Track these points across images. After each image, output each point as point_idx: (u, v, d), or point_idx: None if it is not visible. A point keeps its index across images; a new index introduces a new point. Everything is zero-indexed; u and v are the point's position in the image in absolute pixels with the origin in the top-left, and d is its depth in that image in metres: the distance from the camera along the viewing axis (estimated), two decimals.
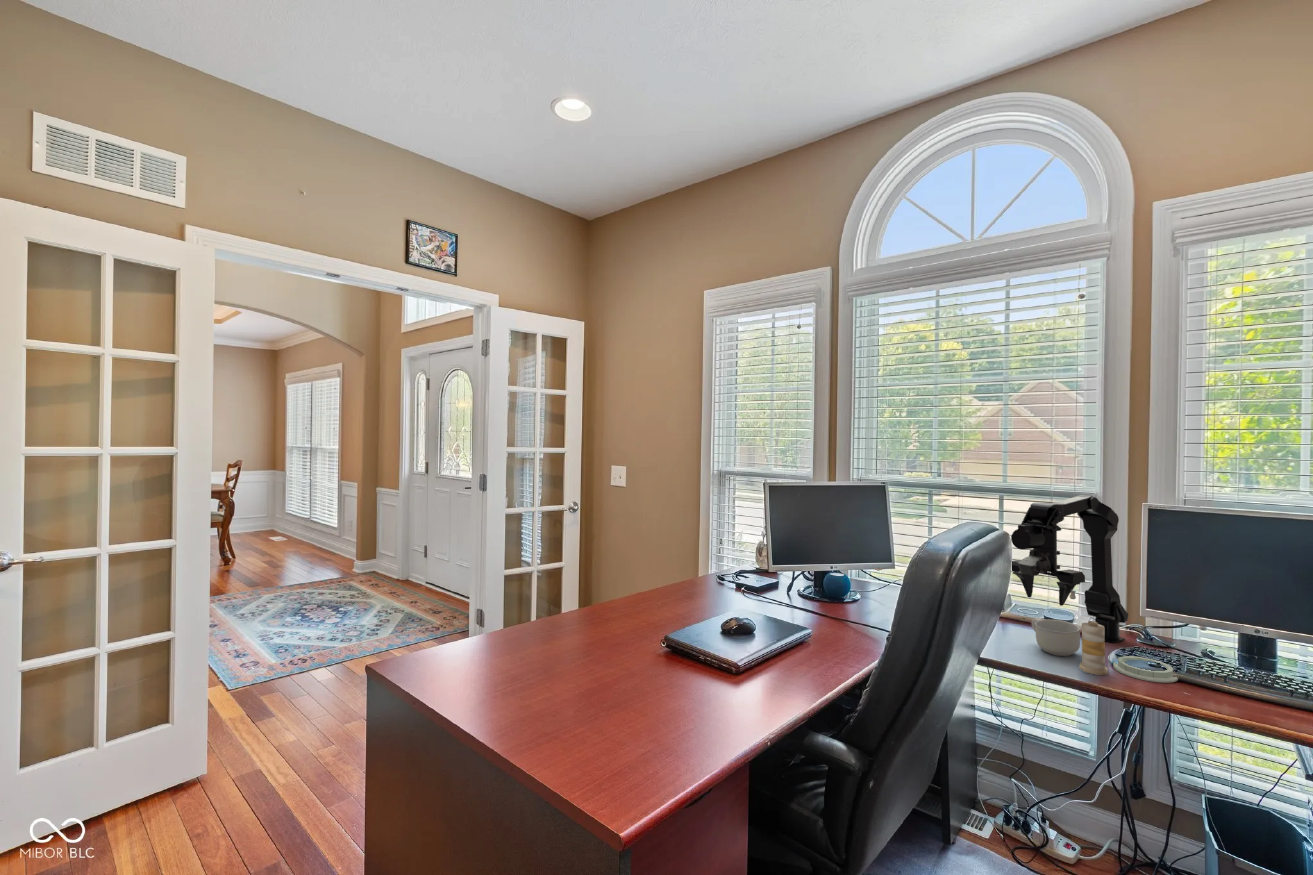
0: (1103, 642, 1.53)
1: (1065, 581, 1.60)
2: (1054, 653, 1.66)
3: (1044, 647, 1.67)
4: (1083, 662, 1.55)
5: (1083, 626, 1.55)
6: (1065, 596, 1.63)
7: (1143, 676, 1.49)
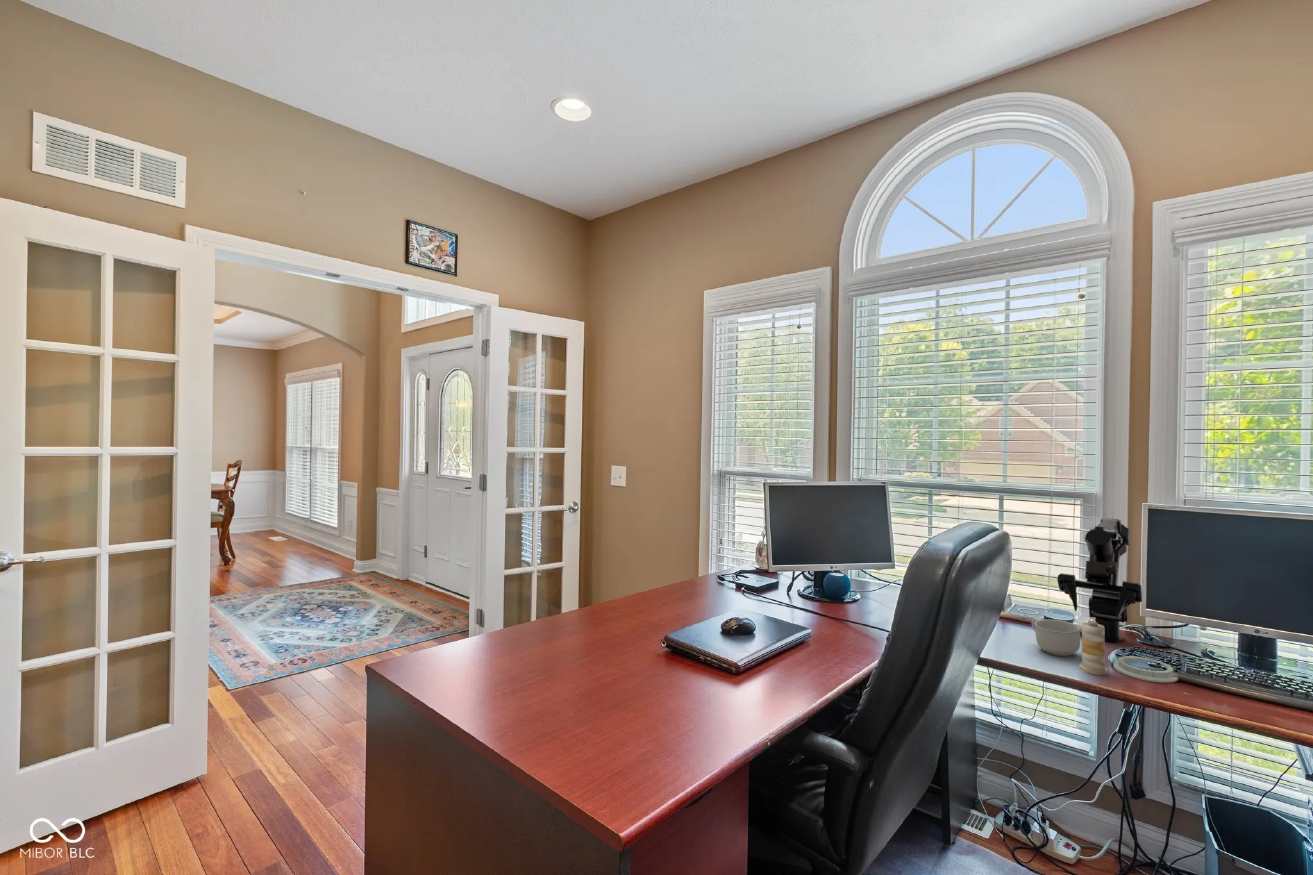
0: (1103, 642, 1.53)
1: (1132, 588, 1.58)
2: (1054, 653, 1.66)
3: (1044, 647, 1.67)
4: (1083, 662, 1.55)
5: (1083, 626, 1.55)
6: (1122, 609, 1.58)
7: (1143, 676, 1.49)
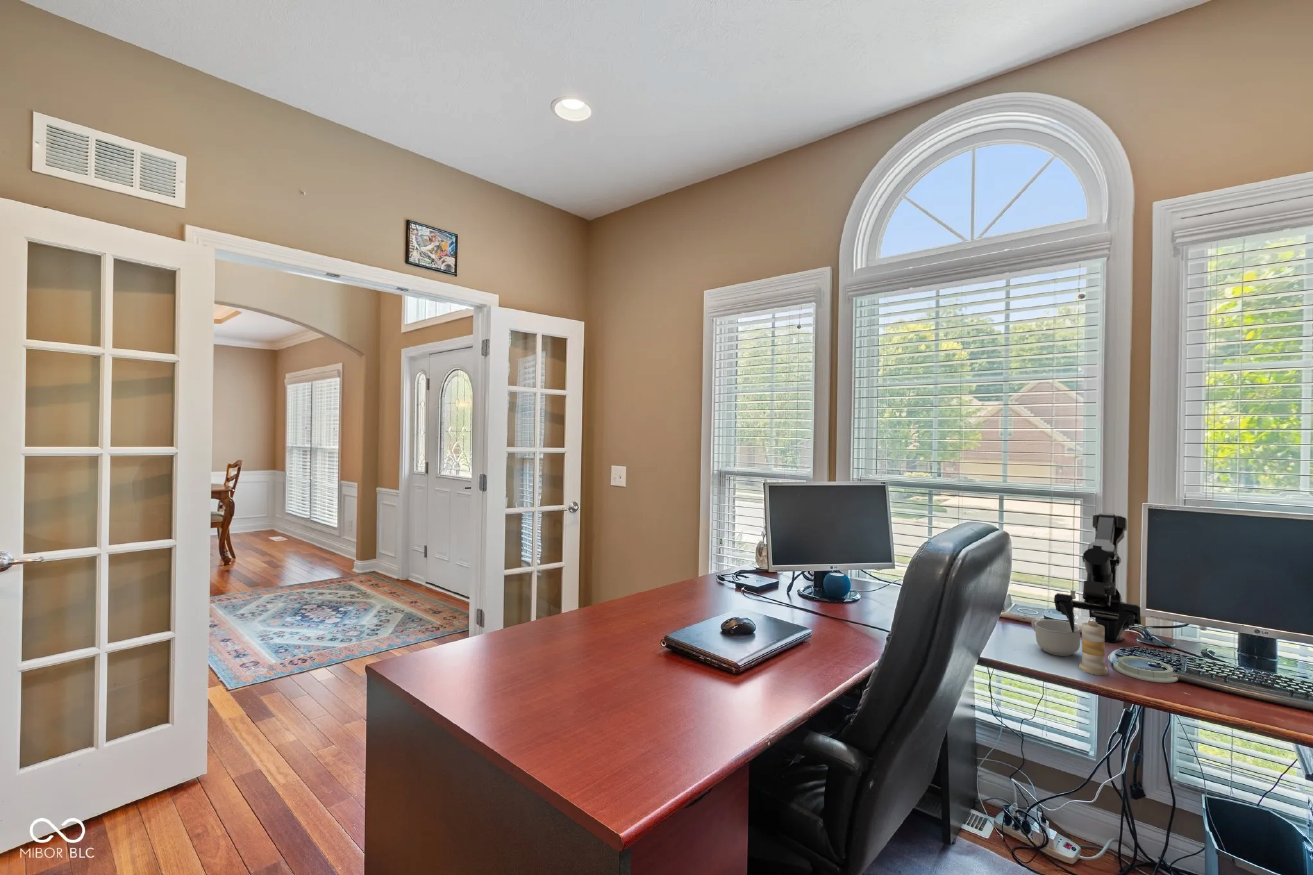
0: (1103, 642, 1.53)
1: (1131, 609, 1.53)
2: (1054, 653, 1.66)
3: (1044, 647, 1.67)
4: (1083, 662, 1.55)
5: (1083, 626, 1.55)
6: (1121, 631, 1.53)
7: (1143, 676, 1.49)
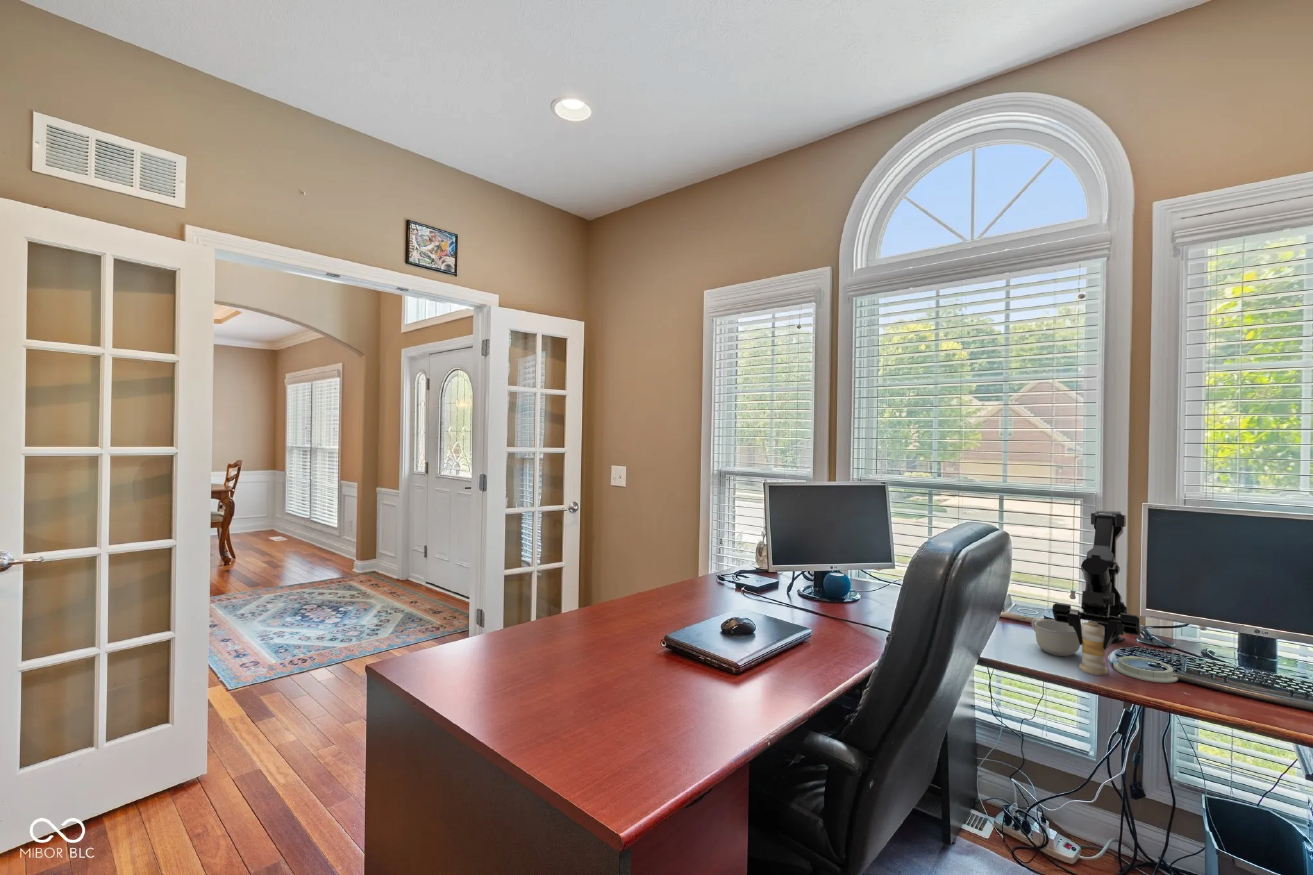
0: (1103, 642, 1.53)
1: (1131, 620, 1.51)
2: (1054, 653, 1.66)
3: (1044, 647, 1.67)
4: (1083, 662, 1.55)
5: (1083, 626, 1.55)
6: (1110, 640, 1.53)
7: (1143, 676, 1.49)
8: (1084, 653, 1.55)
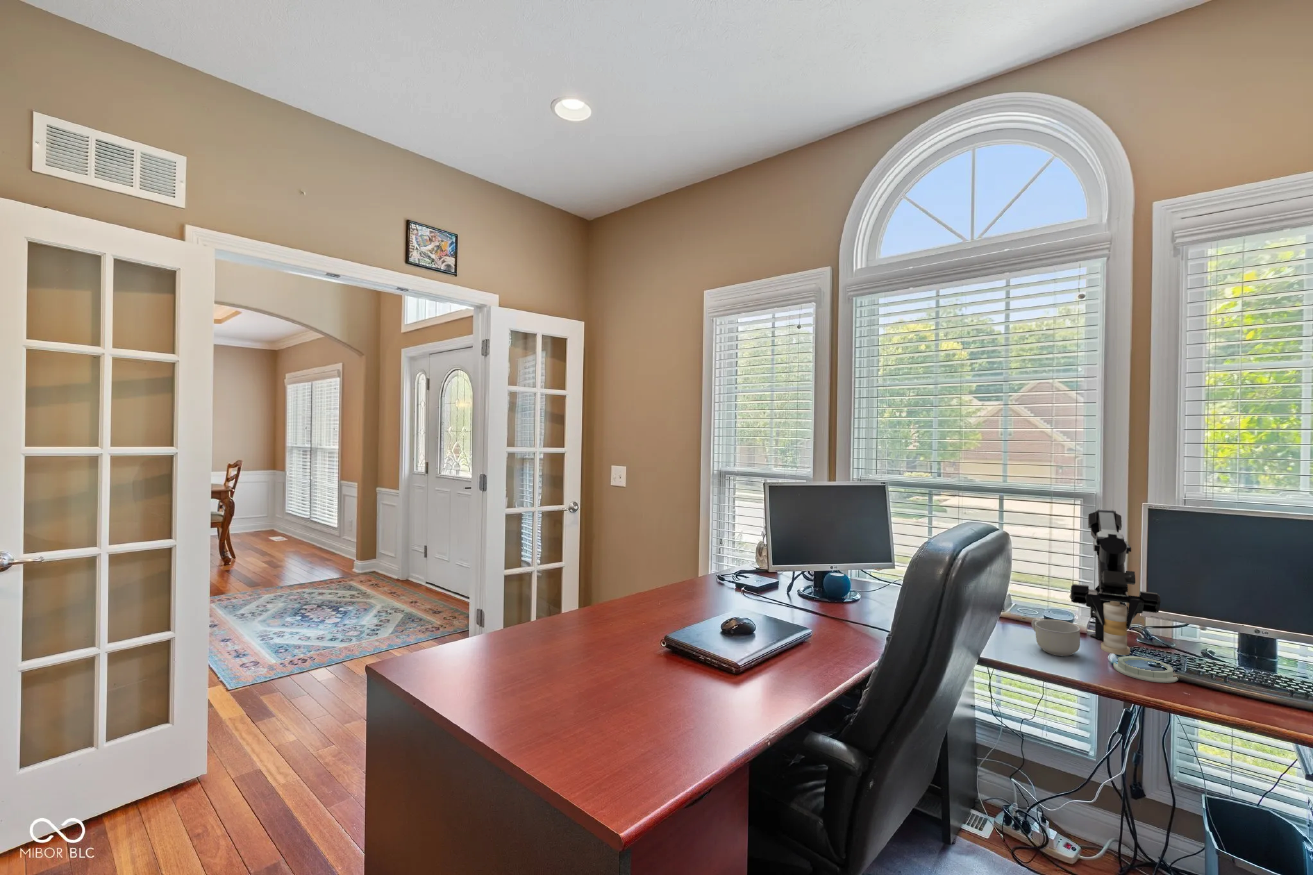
0: (1126, 622, 1.52)
1: (1152, 598, 1.51)
2: (1054, 653, 1.66)
3: (1044, 647, 1.67)
4: (1106, 642, 1.54)
5: (1106, 606, 1.54)
6: (1132, 619, 1.52)
7: (1143, 676, 1.49)
8: (1107, 633, 1.53)
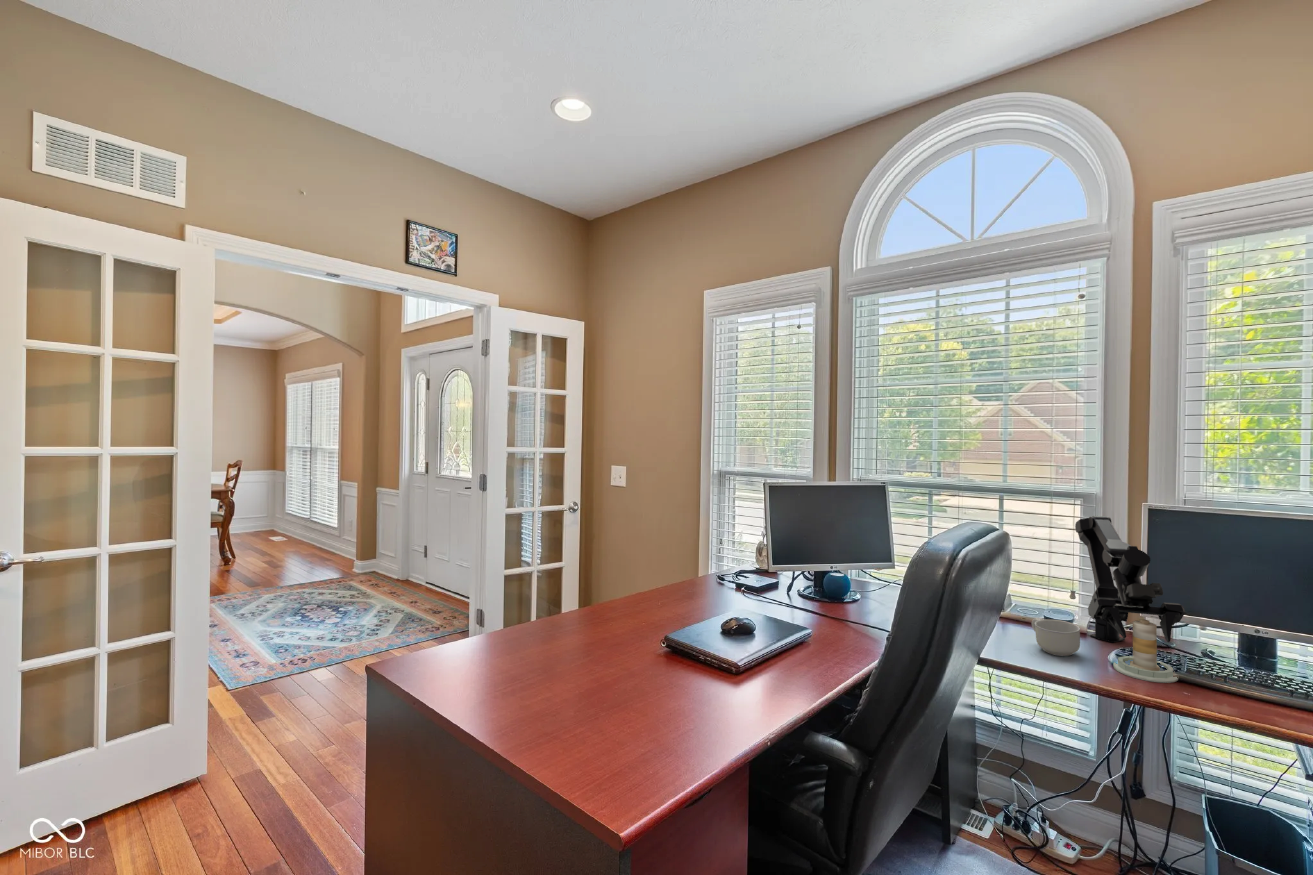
0: (1156, 640, 1.52)
1: (1177, 609, 1.52)
2: (1054, 653, 1.66)
3: (1044, 647, 1.67)
4: (1137, 662, 1.53)
5: (1137, 625, 1.53)
6: None
7: (1143, 676, 1.49)
8: (1139, 652, 1.52)
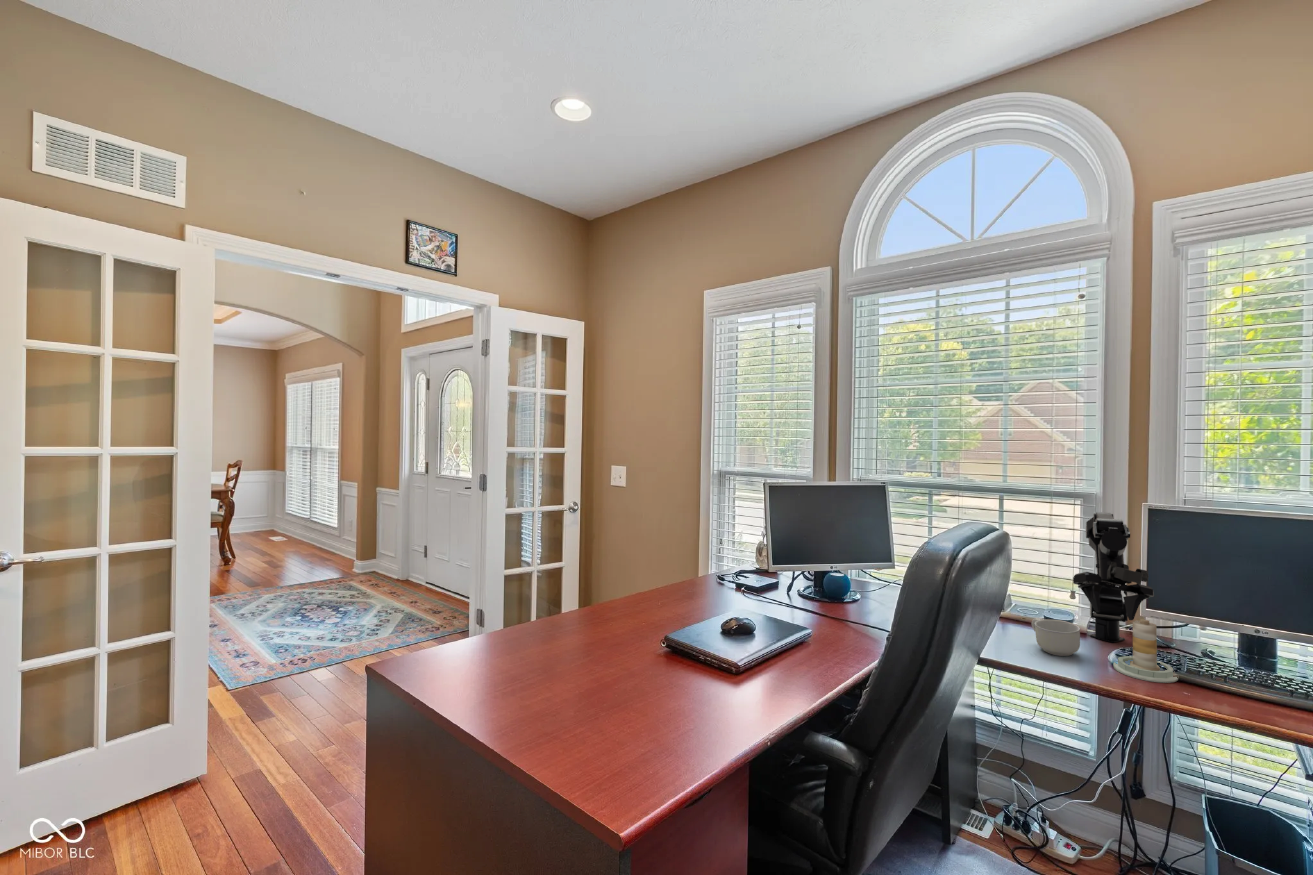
0: (1156, 640, 1.52)
1: (1149, 593, 1.62)
2: (1054, 653, 1.66)
3: (1044, 647, 1.67)
4: (1137, 662, 1.53)
5: (1137, 625, 1.53)
6: None
7: (1143, 676, 1.49)
8: (1139, 653, 1.52)
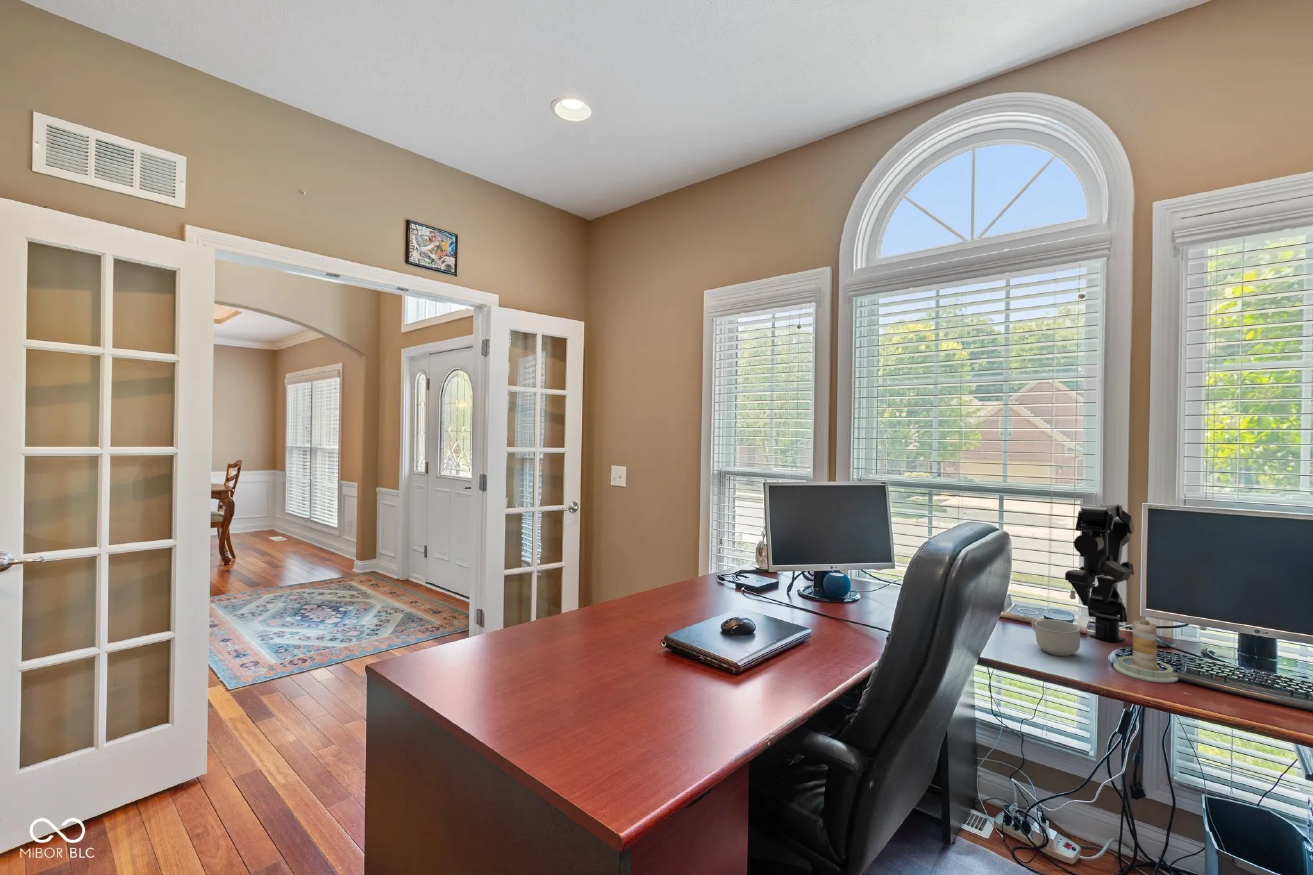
0: (1156, 640, 1.52)
1: None
2: (1054, 653, 1.66)
3: (1044, 647, 1.67)
4: (1137, 662, 1.53)
5: (1137, 625, 1.53)
6: None
7: (1143, 676, 1.49)
8: (1139, 653, 1.52)
